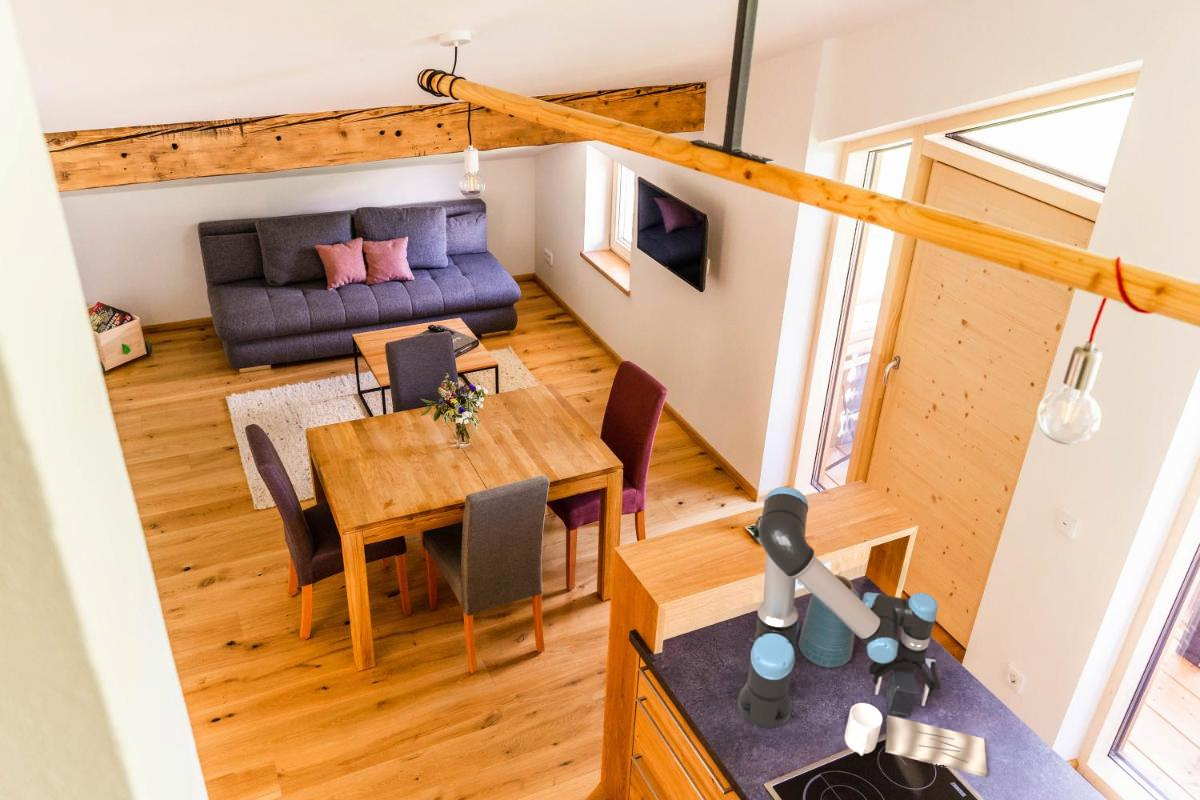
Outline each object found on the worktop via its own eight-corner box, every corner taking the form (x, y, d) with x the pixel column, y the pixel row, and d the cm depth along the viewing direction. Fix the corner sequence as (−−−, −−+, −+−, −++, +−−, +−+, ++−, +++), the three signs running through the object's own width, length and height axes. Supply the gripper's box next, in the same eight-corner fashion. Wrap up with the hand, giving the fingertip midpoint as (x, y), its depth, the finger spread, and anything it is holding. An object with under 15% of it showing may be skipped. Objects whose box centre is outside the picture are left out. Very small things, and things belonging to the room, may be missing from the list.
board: (885, 751, 244) (886, 748, 243) (886, 718, 254) (887, 714, 253) (985, 777, 237) (987, 773, 237) (982, 742, 247) (984, 738, 247)
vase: (787, 648, 277) (798, 582, 264) (818, 624, 287) (831, 559, 274) (831, 678, 267) (845, 611, 254) (861, 652, 276) (877, 586, 263)
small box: (911, 719, 254) (918, 693, 249) (887, 715, 255) (894, 689, 250) (907, 691, 263) (914, 665, 258) (884, 687, 264) (891, 662, 259)
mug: (843, 761, 241) (849, 734, 236) (844, 726, 251) (850, 699, 246) (875, 768, 239) (883, 741, 234) (875, 733, 249) (882, 706, 244)
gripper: (868, 641, 247) (855, 695, 257) (960, 662, 241) (944, 717, 251) (869, 623, 253) (857, 677, 264) (959, 643, 247) (943, 697, 258)
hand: (899, 696), depth 258 cm, fingers open, 12 cm apart
